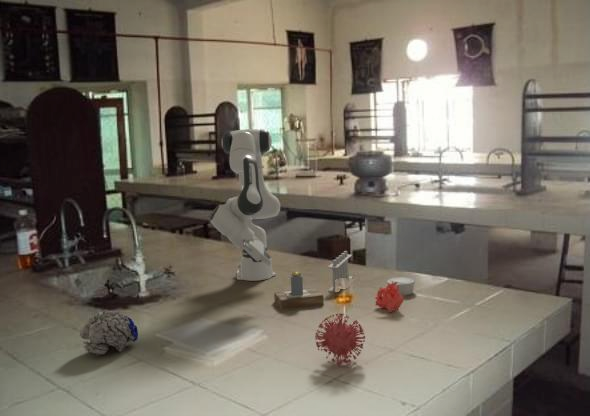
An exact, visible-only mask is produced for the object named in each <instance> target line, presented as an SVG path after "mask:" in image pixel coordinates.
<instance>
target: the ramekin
mask: <svg viewBox="0 0 590 416" xmlns="http://www.w3.org/2000/svg"><path fill="white" fill-rule="evenodd" d="M392 282H393V283H395V282H398V283H397V284H396V285H394V286H395V288H397V285H399V291H398V293H399V294H400V295H402V297H405V296H409V295H411V294H413V292H414V286H415V280H414V278H411V277H402V276H401V277H399V276H398V277H391V278H389V279H388V280H387V281H386V284H387V285H388V284H392ZM389 289H390V288H389Z"/></svg>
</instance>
